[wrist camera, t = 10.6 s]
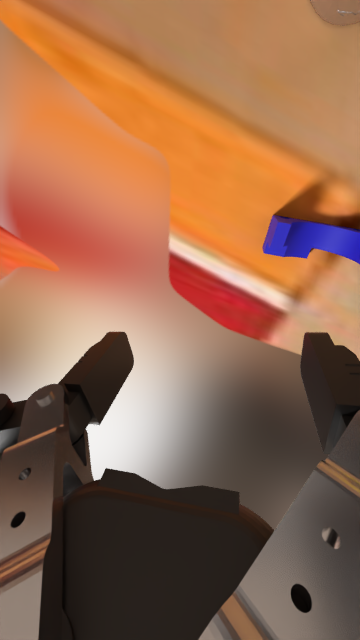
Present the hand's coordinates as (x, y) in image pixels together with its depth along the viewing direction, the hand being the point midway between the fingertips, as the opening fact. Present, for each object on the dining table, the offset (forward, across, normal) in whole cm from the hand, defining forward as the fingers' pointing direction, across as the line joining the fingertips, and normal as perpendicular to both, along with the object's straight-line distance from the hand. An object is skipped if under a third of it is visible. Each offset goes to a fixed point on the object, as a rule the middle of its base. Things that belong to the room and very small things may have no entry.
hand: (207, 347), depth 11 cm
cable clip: (+28, -11, +2) cm, 31 cm away
